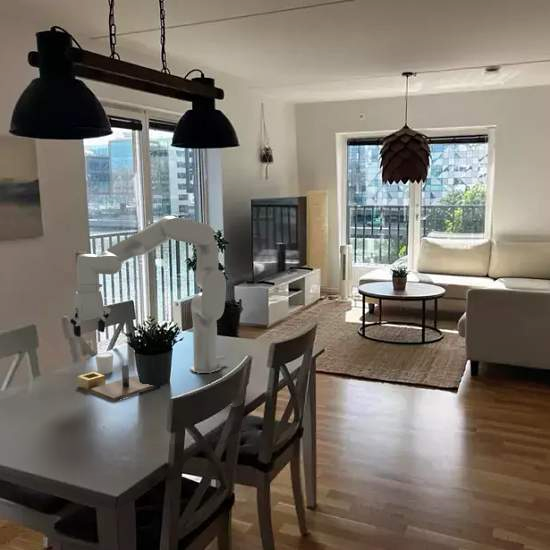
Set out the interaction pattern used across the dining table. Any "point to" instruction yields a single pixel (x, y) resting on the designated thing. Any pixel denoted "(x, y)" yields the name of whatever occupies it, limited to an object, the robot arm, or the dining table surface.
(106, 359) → the white tapered cup
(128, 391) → the keeper board
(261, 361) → the dining table surface
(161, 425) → the dining table surface
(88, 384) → the brass link
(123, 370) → the post
